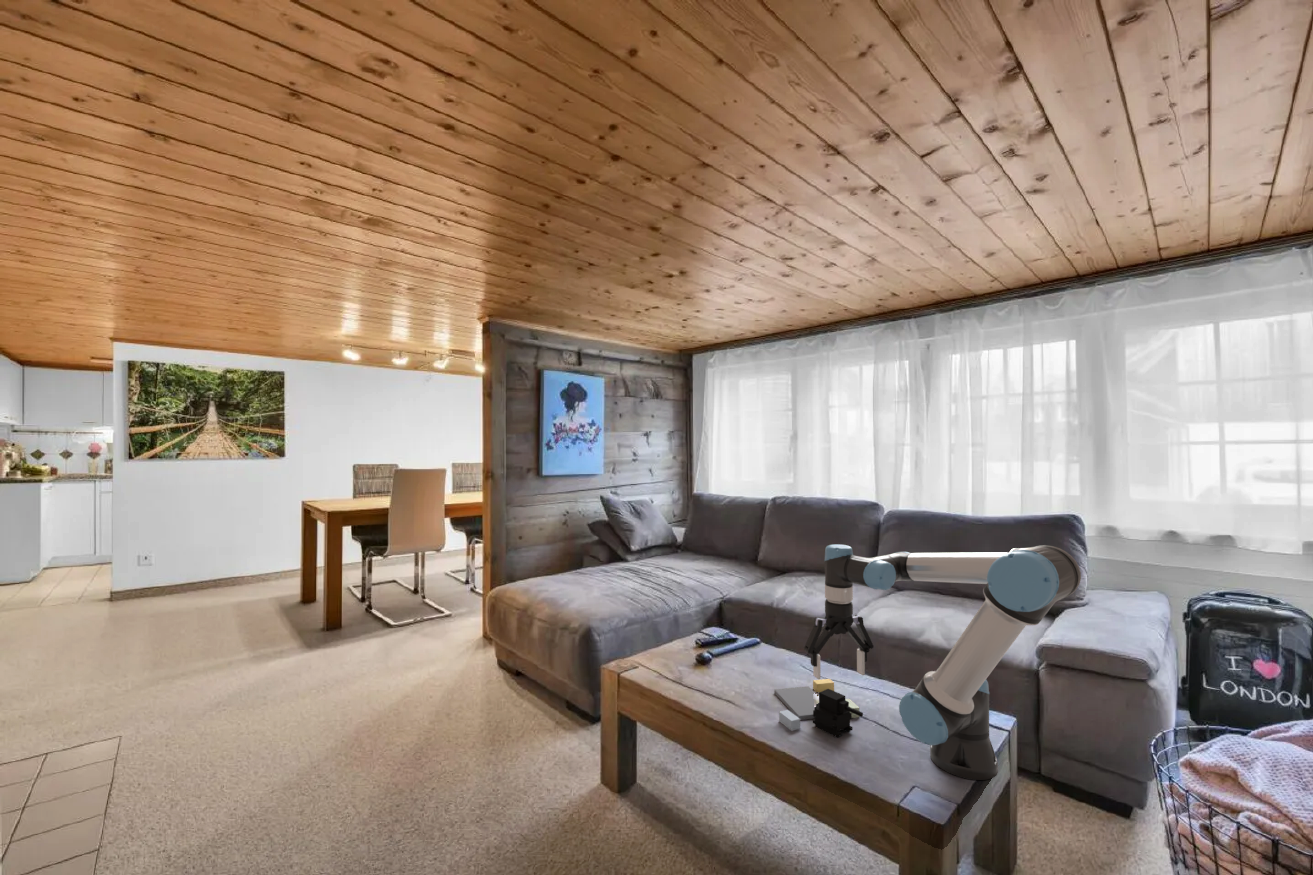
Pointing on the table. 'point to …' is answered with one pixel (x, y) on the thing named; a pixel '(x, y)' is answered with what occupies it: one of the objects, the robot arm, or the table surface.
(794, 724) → the dusty blue brick
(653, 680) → the table surface
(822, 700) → the toy
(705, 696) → the table surface
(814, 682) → the mustard brick
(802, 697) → the felt pad
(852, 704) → the sage brick
